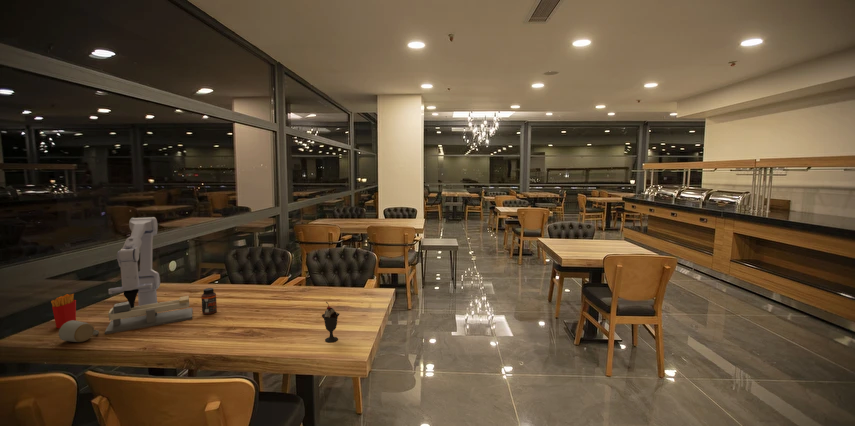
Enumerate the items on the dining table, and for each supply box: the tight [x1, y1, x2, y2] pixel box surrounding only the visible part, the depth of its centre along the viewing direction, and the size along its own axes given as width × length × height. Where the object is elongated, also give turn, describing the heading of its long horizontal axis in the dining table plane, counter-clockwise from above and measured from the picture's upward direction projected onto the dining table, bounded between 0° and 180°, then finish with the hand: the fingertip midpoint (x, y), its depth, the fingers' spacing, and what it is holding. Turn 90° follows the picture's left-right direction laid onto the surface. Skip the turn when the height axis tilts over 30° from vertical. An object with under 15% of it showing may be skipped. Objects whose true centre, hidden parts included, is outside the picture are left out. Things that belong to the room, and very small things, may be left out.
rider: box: [112, 301, 131, 314], centre depth 158 cm, size 4×5×4 cm
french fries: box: [50, 293, 77, 329], centre depth 159 cm, size 9×4×13 cm, turn 2°
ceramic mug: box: [58, 320, 100, 343], centre depth 146 cm, size 11×8×8 cm
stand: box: [104, 303, 193, 335], centre depth 164 cm, size 14×30×6 cm, turn 122°
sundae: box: [321, 301, 340, 343], centre depth 144 cm, size 7×7×15 cm
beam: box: [108, 295, 190, 321], centre depth 164 cm, size 7×28×4 cm, turn 122°
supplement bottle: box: [201, 287, 218, 315], centre depth 174 cm, size 6×6×11 cm
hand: (132, 307), depth 160 cm, fingers closed
